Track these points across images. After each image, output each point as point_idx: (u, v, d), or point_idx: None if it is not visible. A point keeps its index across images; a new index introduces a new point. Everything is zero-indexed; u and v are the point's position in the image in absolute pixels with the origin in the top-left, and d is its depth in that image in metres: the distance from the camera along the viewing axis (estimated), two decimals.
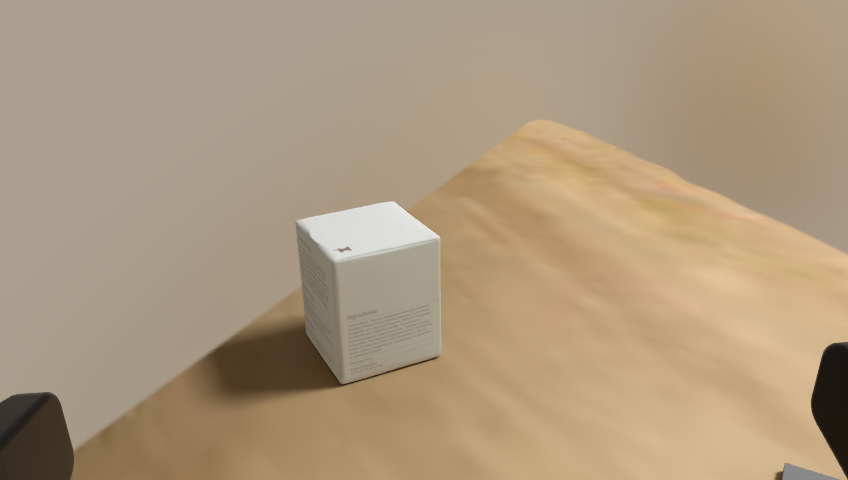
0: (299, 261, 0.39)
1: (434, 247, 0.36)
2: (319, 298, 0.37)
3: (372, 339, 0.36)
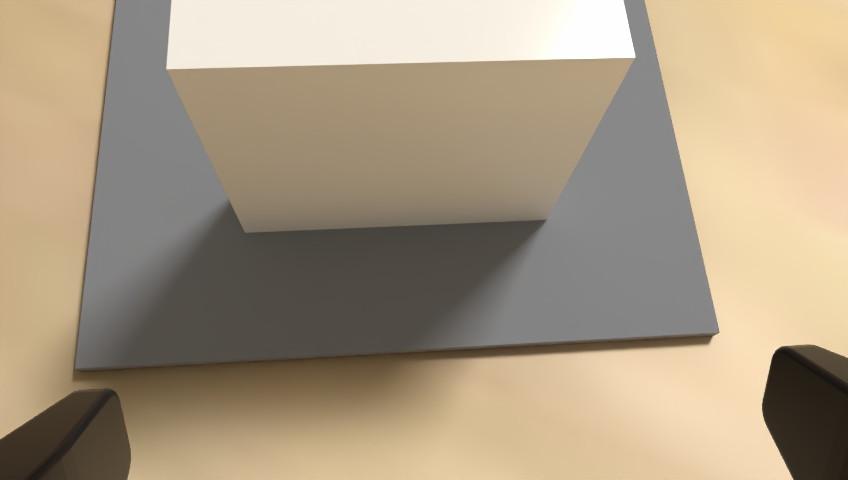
0: None
1: None
2: None
3: None
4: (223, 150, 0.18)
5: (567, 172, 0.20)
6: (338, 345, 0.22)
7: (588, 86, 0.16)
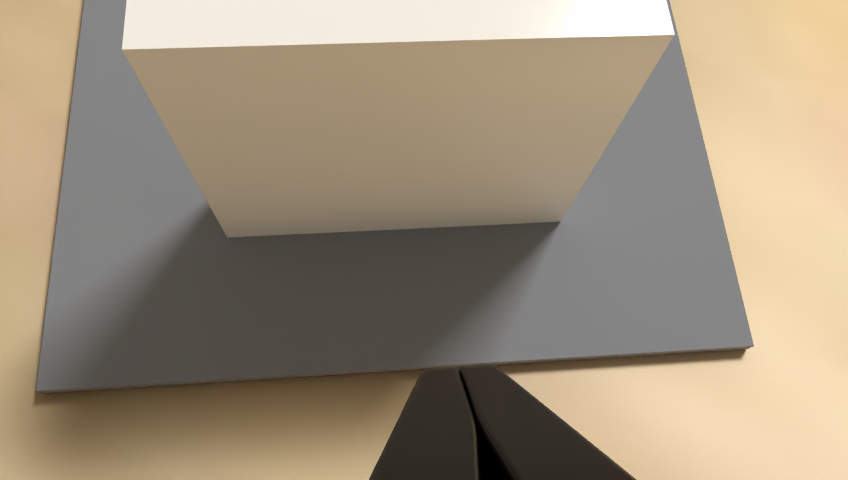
0: None
1: None
2: None
3: None
4: (197, 146, 0.16)
5: (587, 169, 0.18)
6: (331, 363, 0.20)
7: (617, 70, 0.14)
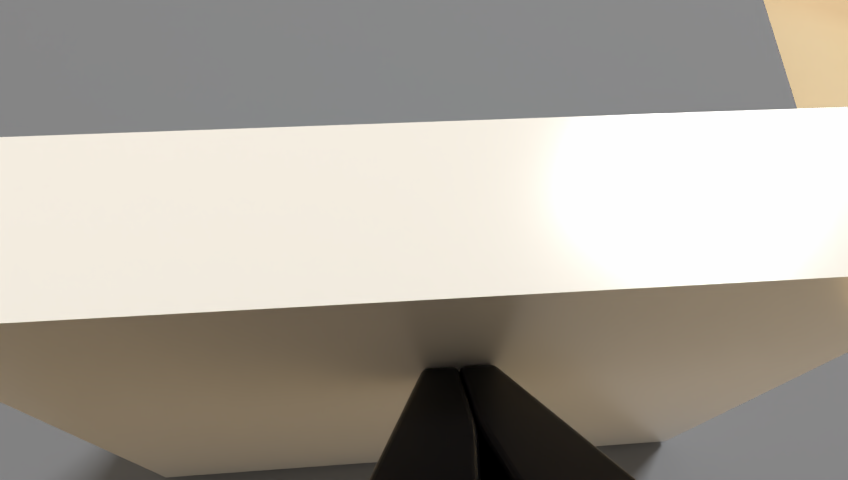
0: None
1: None
2: None
3: None
4: (79, 418, 0.09)
5: (734, 403, 0.11)
6: None
7: None
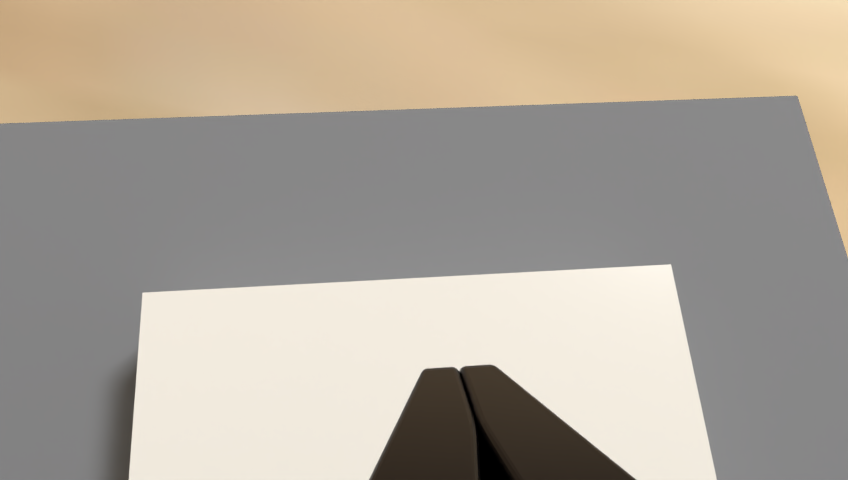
0: None
1: None
2: None
3: None
4: None
5: None
6: None
7: (644, 320, 0.13)
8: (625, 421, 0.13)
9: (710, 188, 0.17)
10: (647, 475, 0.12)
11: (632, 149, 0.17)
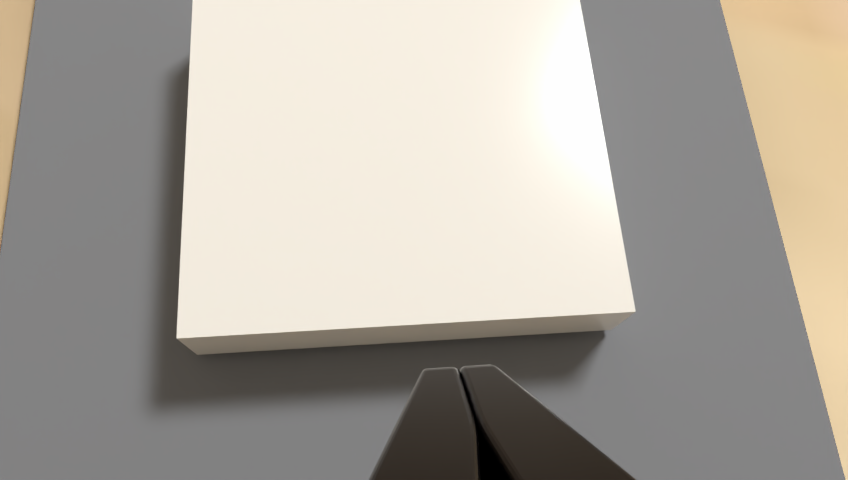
0: None
1: None
2: None
3: None
4: (206, 111, 0.17)
5: (603, 169, 0.17)
6: None
7: (555, 17, 0.18)
8: (537, 77, 0.18)
9: None
10: (551, 109, 0.17)
11: None
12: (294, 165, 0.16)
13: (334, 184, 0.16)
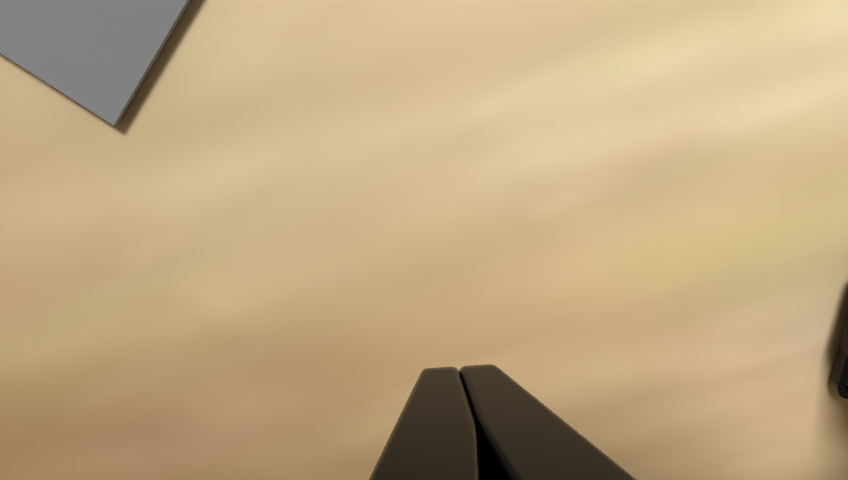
0: None
1: None
2: None
3: None
4: None
5: None
6: None
7: None
8: None
9: None
10: None
11: None
12: None
13: None
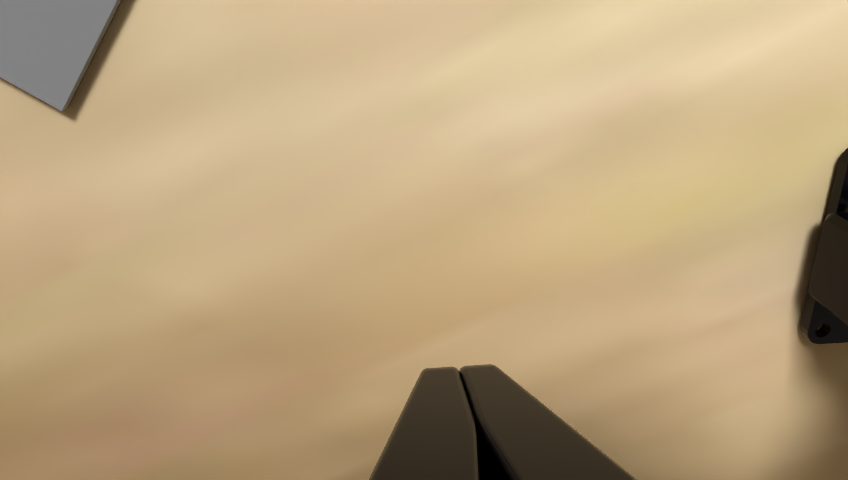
0: None
1: None
2: None
3: None
4: None
5: None
6: None
7: None
8: None
9: None
10: None
11: None
12: None
13: None
